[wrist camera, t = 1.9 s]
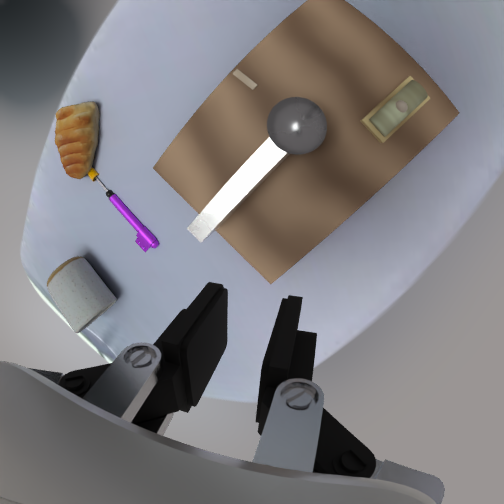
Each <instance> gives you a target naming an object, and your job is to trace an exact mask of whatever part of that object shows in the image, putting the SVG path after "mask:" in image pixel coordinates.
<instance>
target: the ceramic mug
mask: <svg viewBox="0 0 504 504" xmlns="http://www.w3.org/2000/svg"><path fill="white" fill-rule="evenodd" d="M47 287H48V290H49V293H50V295H51V297H52V298H53V300H54V302H55V303H56V305H57V306H58V308H59V309H60V311H61V312H62V314H63V315H64V317H65V318H66V320H67V321H68V323H69V324H70V326H71V327H72V329H73V330H74V332H75V333H79V332H81V331H82V330H84V329H85V328H86V327H88V326H89V325H90V324H91V323H92V322H93V321H95V320H96V319H97V318H98V317H99V316H101V315H102V314H103V313H104V312H105V311H106V310H108V308H110V307H111V306H112V305H113V304H114V303H115V302H116V300H117V299H116V297H115V296H114V295H113V293H112V292H111V291H110V290H109V289H108V287H107V286H106V285H105V283H104V282H103V281H102V280H101V278H100V277H99V276H98V274H97V273H96V272H95V270H94V269H93V268H92V266H91V265H90V264H89V263H88V262H87V261H86V260H85V259H84V258H83V257H78V256H77V257H73V258H71V259H69V260H67V261H66V262H64V263H63V264H61V265H60V266H59V267H58V268H57V269H56V270H55V271H54V272H53V273H52V274H51V275H50V277H49V278H48V281H47Z"/></svg>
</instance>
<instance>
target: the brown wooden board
mask: <svg viewBox="0 0 504 504" xmlns="http://www.w3.org/2000/svg"><path fill="white" fill-rule="evenodd" d="M290 97H302V98H306V99H309V100H311V101H313V102H314V103H315V104H317V105H318V106H319V107H320V108H321V110H322V111H323V113H324V115H325V117H326V121H327V132H326V136H325V139H324V141H323V142H322V144H321V145H320V146H319V147H318V148H317V149H315V150H313V151H311V152H309V153H306V154H302V155H294V154H290V155H289V156H288V157H287V158H286V159H285V160H284V161H283V162H282V163H281V164H280V165H279V166H278V167H277V168H276V169H275V170H274V171H273V172H272V173H271V174H270V175H269V176H268V177H267V178H266V179H265V180H264V181H263V182H262V183H261V184H260V185H259V186H258V187H257V188H256V189H255V190H254V191H253V192H252V193H251V194H250V195H249V196H248V197H247V198H246V199H245V201H244V202H243V203H242V204H241V205H240V206H239V207H238V208H237V209H236V210H235V211H234V212H233V213H232V214H231V215H230V216H229V217H228V218H227V219H226V221H225V222H224V223H223V224H222V225H221V226H220V227H219V228H218V229H217V230H216V231H217V232H218V233H219V234H220V235H221V236H222V237H223V238H224V239H225V240H226V241H227V242H228V243H229V244H230V245H231V246H232V247H233V248H234V249H235V250H236V251H237V252H238V253H239V254H240V255H241V256H242V257H243V258H244V259H245V260H246V261H247V262H248V263H249V264H251V265H252V266H253V267H254V268H255V269H256V270H257V271H258V272H259V273H260V274H261V275H262V276H263V277H264V278H265V279H266V280H267V281H268V282H269V283H270V284H272V283H273V282H274V281H275V280H276V279H278V278H279V277H280V276H281V275H282V274H284V273H285V272H286V271H287V270H288V269H290V268H291V267H292V266H293V265H294V264H296V263H297V262H298V261H299V260H300V259H301V258H303V257H304V256H305V255H306V254H307V253H308V252H310V251H311V250H312V249H313V248H314V247H315V246H317V245H318V244H319V243H320V242H321V241H322V240H324V239H325V238H326V237H327V236H328V235H329V234H330V233H332V232H333V231H334V230H335V229H336V228H337V227H338V226H340V225H341V224H342V223H343V222H344V221H345V220H346V219H347V218H349V217H350V216H351V215H352V214H353V213H354V212H355V211H356V210H358V209H359V208H360V207H361V206H362V205H363V204H364V203H365V202H366V201H368V200H369V199H370V198H371V197H372V196H373V195H374V194H375V193H376V192H377V191H379V190H380V189H381V188H382V187H383V186H384V185H385V184H386V183H387V182H388V181H389V180H391V179H392V178H393V177H394V176H395V175H396V174H397V173H398V172H399V171H400V170H401V169H402V168H403V167H405V166H406V165H407V164H408V163H409V162H410V161H411V160H412V159H413V158H414V157H415V156H416V155H417V154H418V153H419V152H420V151H421V150H422V149H424V148H425V147H426V146H427V145H428V144H429V143H430V142H431V141H432V140H433V139H434V138H435V137H436V136H437V135H438V134H439V133H440V132H441V131H442V130H443V129H444V128H445V127H446V126H447V125H448V124H449V123H450V122H451V121H452V120H453V119H454V118H455V117H456V116H457V115H458V114H459V112H458V110H457V109H456V108H455V106H454V105H453V104H452V102H451V101H450V100H449V99H448V97H447V96H446V95H445V94H444V92H443V91H442V90H441V89H440V88H439V87H438V85H437V84H436V83H435V82H434V81H433V80H432V78H431V77H430V76H429V75H428V74H427V73H426V72H425V71H424V70H423V69H422V67H421V66H420V65H419V64H418V63H417V62H416V61H415V60H414V59H413V58H412V57H411V56H410V55H409V54H408V53H407V52H406V51H405V50H404V49H403V48H402V47H401V46H400V45H399V44H397V43H396V42H395V41H394V40H393V39H392V38H391V37H390V36H389V35H388V34H386V33H385V32H384V31H383V30H382V29H381V28H380V27H378V26H377V25H376V24H375V23H374V22H372V21H371V20H370V19H369V18H367V17H366V16H365V15H364V14H362V13H361V12H360V11H358V10H357V9H356V8H354V7H353V6H352V5H350V4H349V3H348V2H346V1H345V0H307V1H306V2H305V3H304V4H302V5H301V6H300V7H299V8H297V9H296V10H295V11H294V12H293V13H292V14H290V15H289V16H288V17H287V18H286V19H285V20H284V21H282V22H281V23H280V24H279V25H278V26H277V27H276V28H275V29H273V30H272V31H271V32H270V33H269V34H268V35H267V36H266V37H265V38H264V39H263V40H262V41H261V42H260V43H259V44H258V45H257V46H256V47H255V48H254V49H252V50H251V51H250V52H249V53H248V54H247V55H246V57H245V58H244V59H243V60H242V61H241V62H240V63H239V64H238V65H237V66H236V67H235V68H234V69H233V70H232V71H231V72H230V73H229V74H228V75H227V76H226V78H225V79H224V80H223V81H222V82H221V83H220V84H219V85H218V86H217V88H216V89H215V90H214V91H213V92H212V93H211V94H210V95H209V97H208V98H207V99H206V100H205V101H204V102H203V104H202V105H201V106H200V107H199V108H198V110H197V111H196V112H195V113H194V114H193V116H192V117H191V118H190V119H189V121H188V122H187V123H186V124H185V126H184V127H183V128H182V129H181V131H180V132H179V133H178V135H177V136H176V137H175V139H174V140H173V141H172V143H171V144H170V145H169V147H168V148H167V149H166V151H165V152H164V153H163V155H162V156H161V157H160V159H159V160H158V162H157V163H156V164H155V166H154V167H153V169H154V170H155V171H156V172H157V173H158V174H159V175H160V176H161V177H162V178H163V179H164V180H165V181H166V182H167V183H168V184H169V185H170V186H171V187H172V188H173V189H174V190H175V191H176V192H177V193H178V194H179V195H180V196H181V197H182V198H183V199H184V200H185V201H186V202H187V203H188V204H189V205H190V206H191V207H192V208H193V209H194V210H195V211H197V212H198V213H199V214H200V213H201V212H202V210H203V209H204V208H205V207H206V206H207V205H208V204H209V202H210V201H211V200H212V199H213V198H214V197H215V196H216V194H217V193H218V192H219V191H220V190H221V189H222V188H223V187H224V185H225V184H226V183H227V182H228V181H229V180H230V179H231V178H232V177H233V176H234V174H235V173H236V172H237V171H238V170H239V169H240V168H241V167H242V166H243V165H244V164H245V163H246V161H247V160H248V159H249V158H250V157H251V156H252V155H253V154H254V153H255V152H256V151H257V150H258V149H259V148H260V147H261V146H262V145H263V143H264V142H265V141H266V140H267V139H268V138H269V134H268V131H267V119H268V116H269V113H270V111H271V110H272V108H273V107H274V106H275V105H276V104H277V103H278V102H280V101H282V100H284V99H286V98H290Z"/></svg>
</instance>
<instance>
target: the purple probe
mask: <svg viewBox="0 0 504 504" xmlns="http://www.w3.org/2000/svg"><path fill="white" fill-rule="evenodd" d="M97 175H99V174H98V173H97V171H96V170H95V169H94V168H92V167H91V170H90V171H89V172H88V176H89V177H90V178H91V180H92V181H95V180H94V177H95V178H96V180H97V181H98V182H99V183H100V184H101V186H102V187H103V188H104V189H105V190H106V195H107V197H109V200H110V201H111V202H112V204H113V205H114V206H115V207H116V208H117V209H118V211H119V212H120V213H121V214H122V215H123V216H124V217H125V218H126V220H127V221H128V222H129V223H130V224H131V225H132V226H133V227H134V229H135V230H136V231H137V232H138V233H137V235H136V236H137V237H138V238H137V239H136V241H135V242H136V243H137V244H138V245H139V246H140V247H141V248H142V249H143V250H144V251H145V252H146V251H147V250H148V249H149V248H150V247H152V248H156V247H157V246H158V245H159V243H158V241H157V239H156V238H155V236H154V235H153V234H152V233H151V232H150V231H149V230H148V229H147V228H146V227H145V226H143V225H142V223H141V222H140V221H139V220H138V219H137V218H136V217H135V216H134V215H133V214H132V212H131V211H130V210H129V209H128V208H127V207H126V206H125V205H124V203H123V202H122V201H121V200H120V199H119V198H118V197H117V195H116V194H114V193H113V192H112V191H111V190H107V189H106V188H105V186H104V185H103V184H102V183H101V182H100V180H99V179H98V178H97V177H96V176H97ZM139 242H140V243H139ZM144 247H145V248H144Z"/></svg>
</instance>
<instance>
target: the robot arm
mask: <svg viewBox="0 0 504 504" xmlns="http://www.w3.org/2000/svg"><path fill="white" fill-rule="evenodd" d="M302 298H303V297H297V296H290V295H289V296H288V299H285V298H283V299H282V302H281V305H280V309H279V312H278V315H277V318H276V322H275V325H274V328H273V331H272V335H271V338H270V341H269V344H268V347H267V350H266V354H265V357H264V360H263V364H262V369H261V377H260V387H259V396H258V405H257V414H256V422H258V423H259V428H258V433H259V434H260V435H261V438H260V441H259V444H258V447H257V450H256V453H255V456H254V459H253V462H248V461H244V460H240V459H235V458H231V457H227V456H224V455H220V454H216V453H213V452H209V451H206V450H203V449H199V448H196V447H193V446H190V445H187V444H184V443H181V442H178V441H175V440H172V439H170V438H167V437H164V436H163V435H164V433H165V431H166V429H167V427H168V425H169V423H170V421H171V420H172V417H173V413H174V412H177V411H179V410H181V411H184V412H187V413H188V412H189V410H190V408H191V406H194V407H195V406H196V405H197V404H198V402H199V400H200V398H201V396H202V394H203V392H204V390H205V388H206V386H207V384H208V382H209V380H210V379H211V377H212V375H213V373H214V371H215V369H216V367H217V365H218V363H219V361H220V359H221V357H222V355H223V353H224V351H225V349H226V346H227V307H228V291H227V289H225V288H224V287H223V285H222V284H217V283H212V282H209V283H207V285H206V286H205V287H204V288H203V290H202V291H201V292H200V293H199V295H198V296H197V297H196V298H195V299H194V301H193V302H192V303H191V304H190V306H189V307H188V308H187V309H183V310H182V311H180V313H179V314H178V315H177V316H176V318H175V319H174V320H173V321H172V322H171V324H170V325H169V326H168V327H167V328H166V330H165V331H164V332H163V333H162V335H161V336H160V337H159V338H158V339H157V341H156V342H155V343H154V344H153V345H152V344H149V343H135V344H132V345H130V346H128V347H126V348H125V349H124V350H123V351H122V352H121V353H120V354H119V355H118V357H117V358H116V359H115V360H114V361H113V362H112V363H110V364H105V365H101V366H96V367H91V368H86V369H81V370H75V371H72V372H69V373H67V374H65V375H63V373H59V372H51V371H44V370H37V369H31V368H26V367H23V366H21V365H18V364H15V363H9V362H5V361H0V504H441V502H442V499H443V497H444V491H445V488H444V485H443V482H442V481H441V480H440V479H439V478H437V477H435V476H434V475H430V474H427V473H424V472H420V471H417V470H414V469H411V468H408V467H405V466H402V465H399V464H397V463H394V462H391V461H388V460H385V461H384V462H382V461H379V460H377V459H375V457H374V454H373V453H372V452H371V451H370V450H369V449H368V448H367V447H366V446H365V445H364V444H363V443H362V442H360V441H359V440H358V439H357V438H356V437H355V436H354V435H353V434H351V433H350V432H349V431H348V430H347V429H346V428H344V426H343V425H341V424H340V423H339V422H338V421H337V420H336V419H335V418H334V417H333V416H332V415H331V414H330V413H329V412H327V411H326V410H325V409H324V408H323V404H324V394H323V392H322V390H321V388H320V387H319V386H318V385H317V384H315V383H313V382H312V375H313V367H314V358H315V348H316V338H317V333H313V332H306V331H299V330H297V329H298V323H299V317H300V311H301V305H302Z"/></svg>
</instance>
